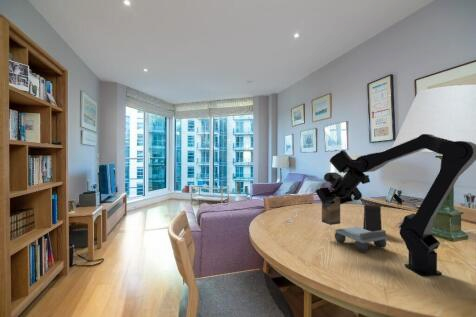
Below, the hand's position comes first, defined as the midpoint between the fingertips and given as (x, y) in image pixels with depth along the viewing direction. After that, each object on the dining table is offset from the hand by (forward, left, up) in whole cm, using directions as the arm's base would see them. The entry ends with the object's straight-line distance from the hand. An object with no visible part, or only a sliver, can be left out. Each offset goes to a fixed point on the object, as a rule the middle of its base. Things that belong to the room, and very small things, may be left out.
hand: (328, 205), depth 102 cm
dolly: (-10, -7, -13) cm, 18 cm away
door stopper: (+3, -21, -13) cm, 25 cm away
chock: (-1, 0, -7) cm, 7 cm away
